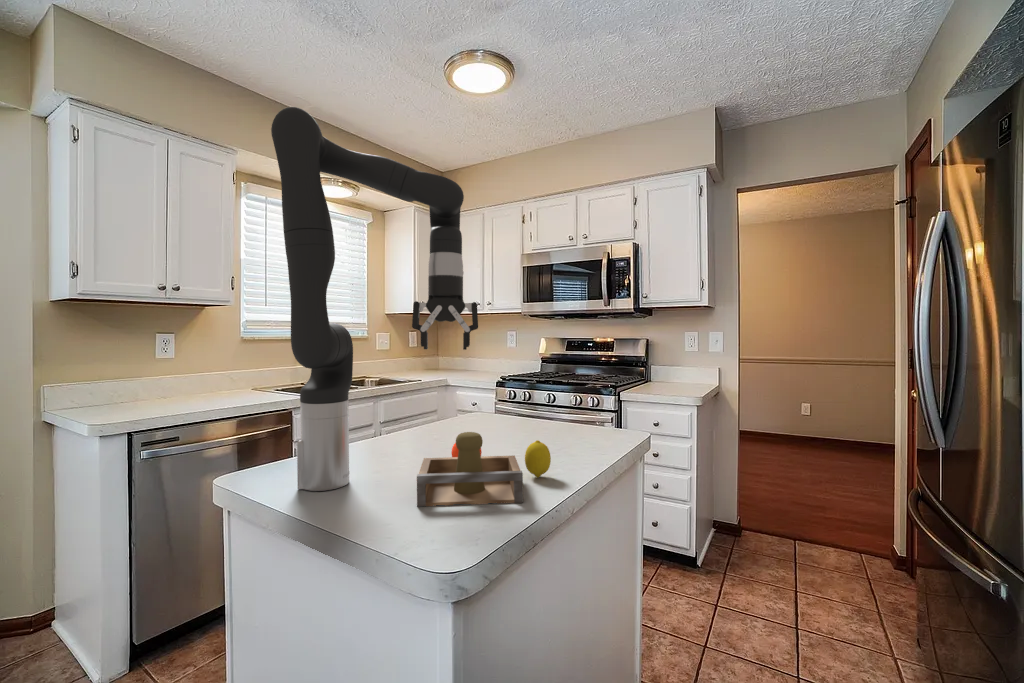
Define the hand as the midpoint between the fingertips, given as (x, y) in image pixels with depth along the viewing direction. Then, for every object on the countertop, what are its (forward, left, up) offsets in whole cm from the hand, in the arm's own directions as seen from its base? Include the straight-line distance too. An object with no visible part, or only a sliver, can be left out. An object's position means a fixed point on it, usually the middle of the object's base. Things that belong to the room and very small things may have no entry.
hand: (445, 349), depth 106 cm
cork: (+5, -13, -27) cm, 30 cm away
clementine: (+5, +5, -28) cm, 28 cm away
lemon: (+20, -5, -28) cm, 34 cm away
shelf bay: (+5, -13, -27) cm, 31 cm away
